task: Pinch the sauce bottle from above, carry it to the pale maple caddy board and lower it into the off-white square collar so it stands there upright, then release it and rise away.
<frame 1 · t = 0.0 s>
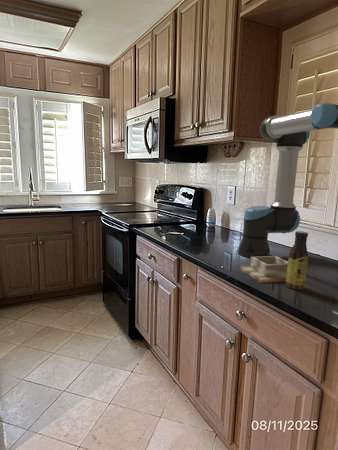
caddy board: (269, 274, 124), on the counter
sauce bottle: (294, 287, 111), on the counter
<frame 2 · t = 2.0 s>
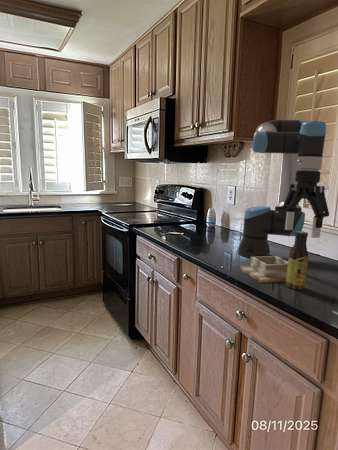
hand: (301, 233, 108), 19 cm above the counter, tool pointing down, fingers open, 13 cm apart
nothing on the counter moved.
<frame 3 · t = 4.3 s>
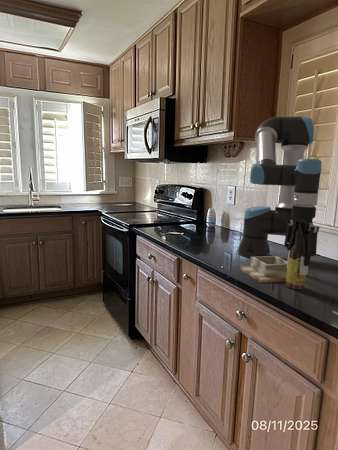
hand: (296, 271, 110), 6 cm above the counter, tool pointing down, fingers closed on sauce bottle, 6 cm apart
sauce bottle: (294, 287, 111), on the counter, touching gripper
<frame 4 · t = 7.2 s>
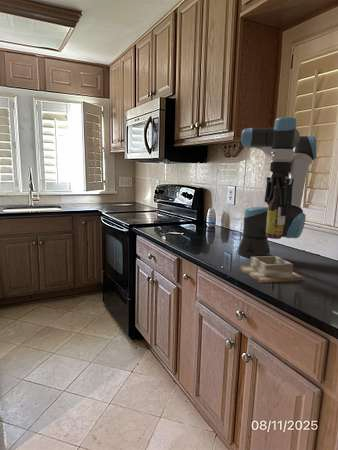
hand: (275, 222, 121), 21 cm above the counter, tool pointing down, fingers closed on sauce bottle, 6 cm apart
sauce bottle: (273, 238, 122), point 15 cm above the counter, touching gripper
when the fingers open (8 cm above the counter, at t = 10.1 s): sauce bottle drops 1 cm, resting on caddy board.
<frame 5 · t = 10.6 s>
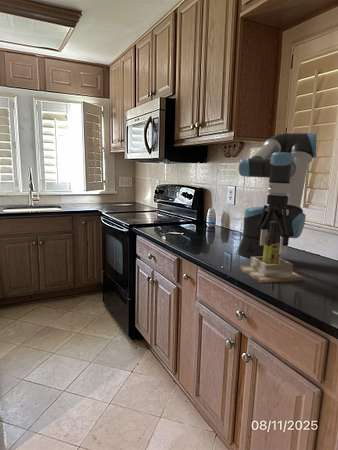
hand: (272, 249, 123), 10 cm above the counter, tool pointing down, fingers open, 13 cm apart
sauce bottle: (269, 271, 124), point 1 cm above the counter, touching caddy board
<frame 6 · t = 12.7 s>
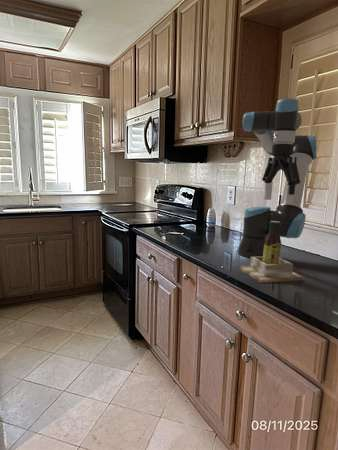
hand: (277, 201, 120), 29 cm above the counter, tool pointing down, fingers open, 13 cm apart
nothing on the counter moved.
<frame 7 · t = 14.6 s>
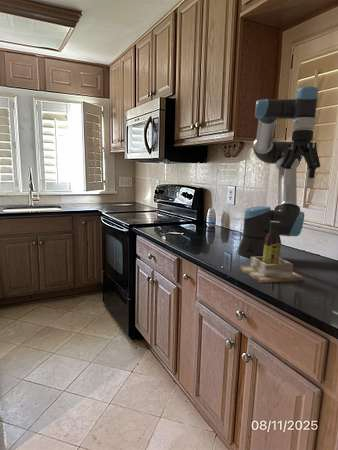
hand: (296, 185, 125), 35 cm above the counter, tool pointing down, fingers open, 13 cm apart
nothing on the counter moved.
at the end: sauce bottle 0.3 cm off-centre on the caddy board, point 1.0 cm above the caddy board's base; sauce bottle tilted 0°; the gripper is holding nothing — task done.
